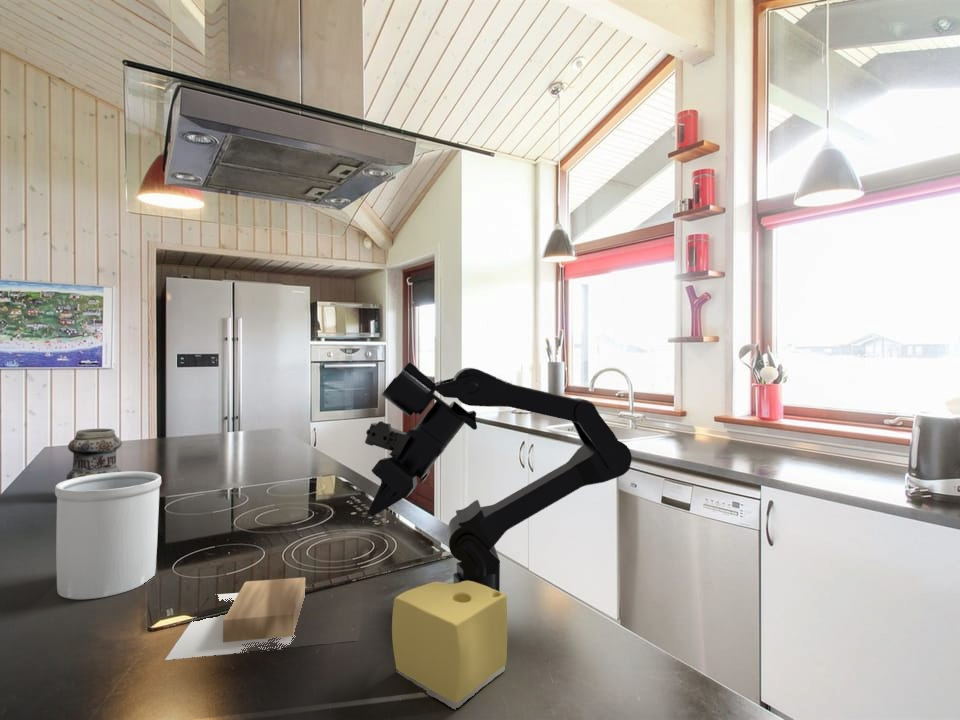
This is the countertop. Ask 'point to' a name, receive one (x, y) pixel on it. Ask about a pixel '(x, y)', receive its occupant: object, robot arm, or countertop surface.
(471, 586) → the cheese
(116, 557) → the utensil holder
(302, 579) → the oak board
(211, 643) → the mat
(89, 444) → the apothecary jar
